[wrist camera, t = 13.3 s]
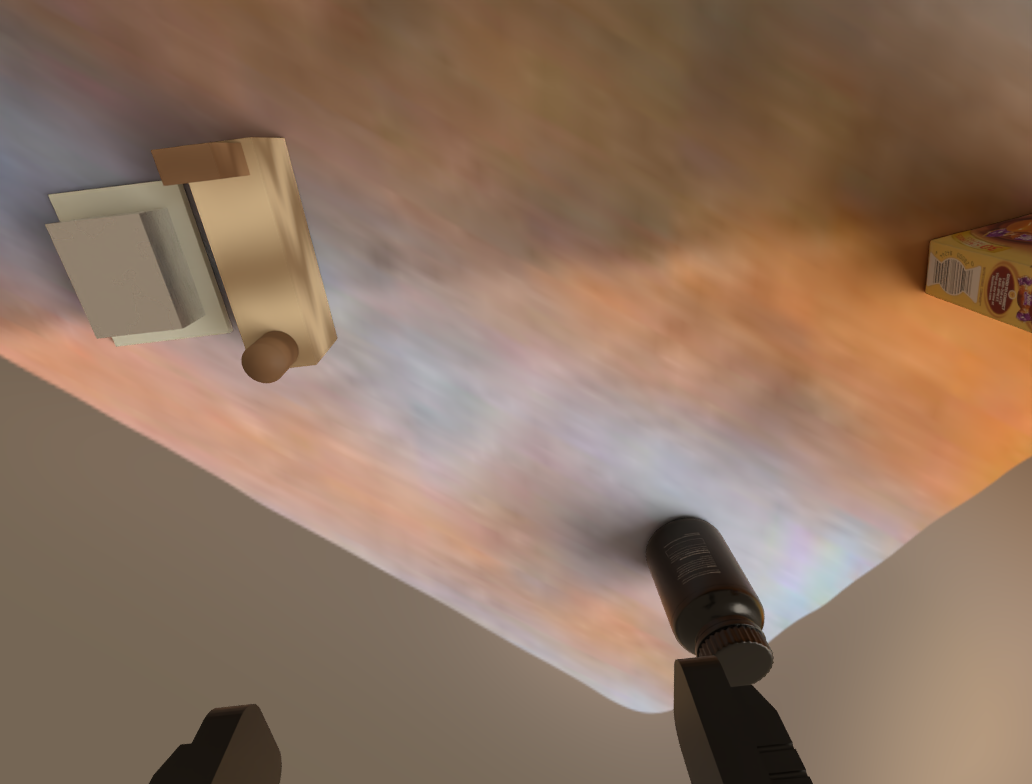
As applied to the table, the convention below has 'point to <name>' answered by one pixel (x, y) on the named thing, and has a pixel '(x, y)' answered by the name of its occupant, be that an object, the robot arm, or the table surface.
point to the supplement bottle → (709, 599)
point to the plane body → (258, 248)
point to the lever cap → (128, 272)
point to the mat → (188, 235)
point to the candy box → (986, 271)
